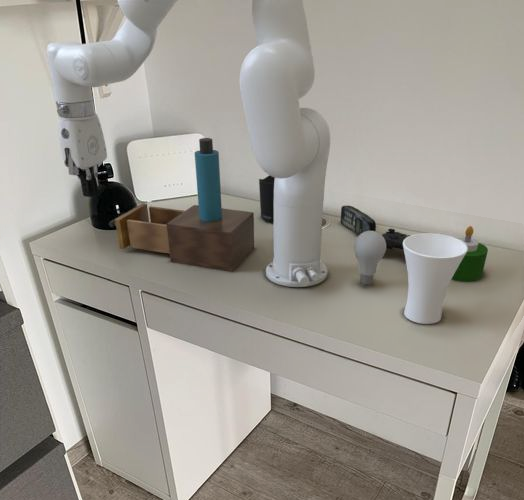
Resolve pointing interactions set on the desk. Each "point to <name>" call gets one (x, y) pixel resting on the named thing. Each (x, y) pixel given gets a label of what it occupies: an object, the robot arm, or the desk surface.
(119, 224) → the drawer
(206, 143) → the teal bottle
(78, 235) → the desk surface
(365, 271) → the lightbulb
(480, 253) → the candle
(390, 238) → the gaming controller
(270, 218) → the pen holder
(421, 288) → the cup
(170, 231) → the cabinet
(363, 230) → the mobile phone
